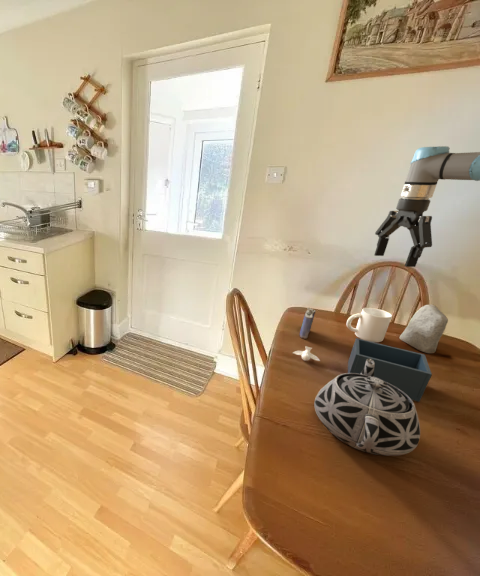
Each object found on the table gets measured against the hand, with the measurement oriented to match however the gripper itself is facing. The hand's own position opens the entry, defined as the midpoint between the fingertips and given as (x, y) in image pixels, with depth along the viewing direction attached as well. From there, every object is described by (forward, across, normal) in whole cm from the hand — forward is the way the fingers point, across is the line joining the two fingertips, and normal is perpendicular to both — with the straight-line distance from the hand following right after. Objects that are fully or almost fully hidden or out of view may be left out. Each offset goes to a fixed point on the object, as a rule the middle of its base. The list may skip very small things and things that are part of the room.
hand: (393, 260), depth 110 cm
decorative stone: (+28, +10, +9) cm, 31 cm away
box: (+28, +31, -18) cm, 45 cm away
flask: (+28, +4, -25) cm, 38 cm away
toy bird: (+28, +21, -34) cm, 49 cm away
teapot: (+28, +51, -37) cm, 69 cm away
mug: (+28, +4, -5) cm, 29 cm away
